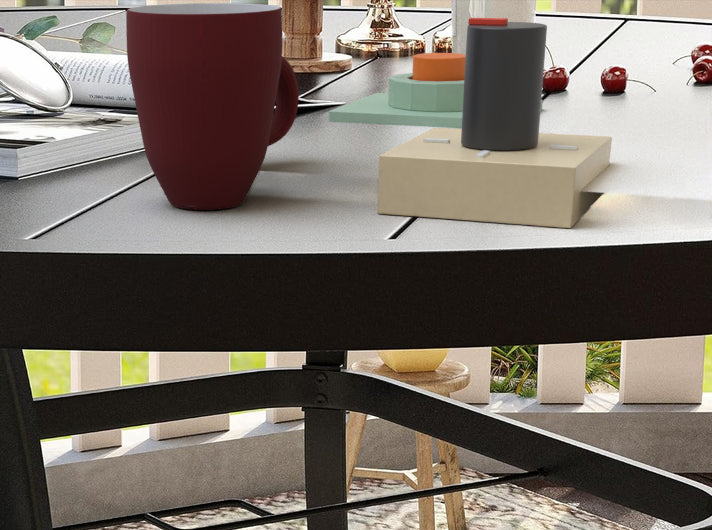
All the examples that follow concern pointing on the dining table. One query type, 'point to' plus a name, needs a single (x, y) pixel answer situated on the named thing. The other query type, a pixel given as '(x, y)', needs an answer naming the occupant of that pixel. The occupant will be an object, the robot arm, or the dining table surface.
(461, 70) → the button
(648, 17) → the dining table surface
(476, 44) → the dial
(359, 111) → the kettle base
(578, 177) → the block
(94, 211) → the dining table surface
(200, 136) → the mug
